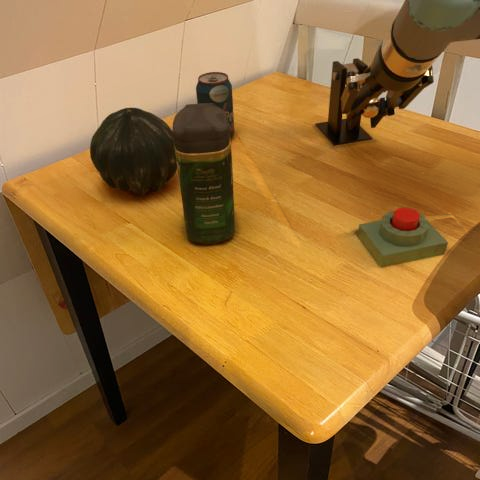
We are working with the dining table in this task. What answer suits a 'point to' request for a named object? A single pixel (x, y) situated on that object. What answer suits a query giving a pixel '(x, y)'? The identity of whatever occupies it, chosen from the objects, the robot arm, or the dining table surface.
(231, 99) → the soda can
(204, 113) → the coffee jar
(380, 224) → the panel
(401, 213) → the button
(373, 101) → the switch lever
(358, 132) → the switch bracket
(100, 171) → the squash
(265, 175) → the dining table surface
